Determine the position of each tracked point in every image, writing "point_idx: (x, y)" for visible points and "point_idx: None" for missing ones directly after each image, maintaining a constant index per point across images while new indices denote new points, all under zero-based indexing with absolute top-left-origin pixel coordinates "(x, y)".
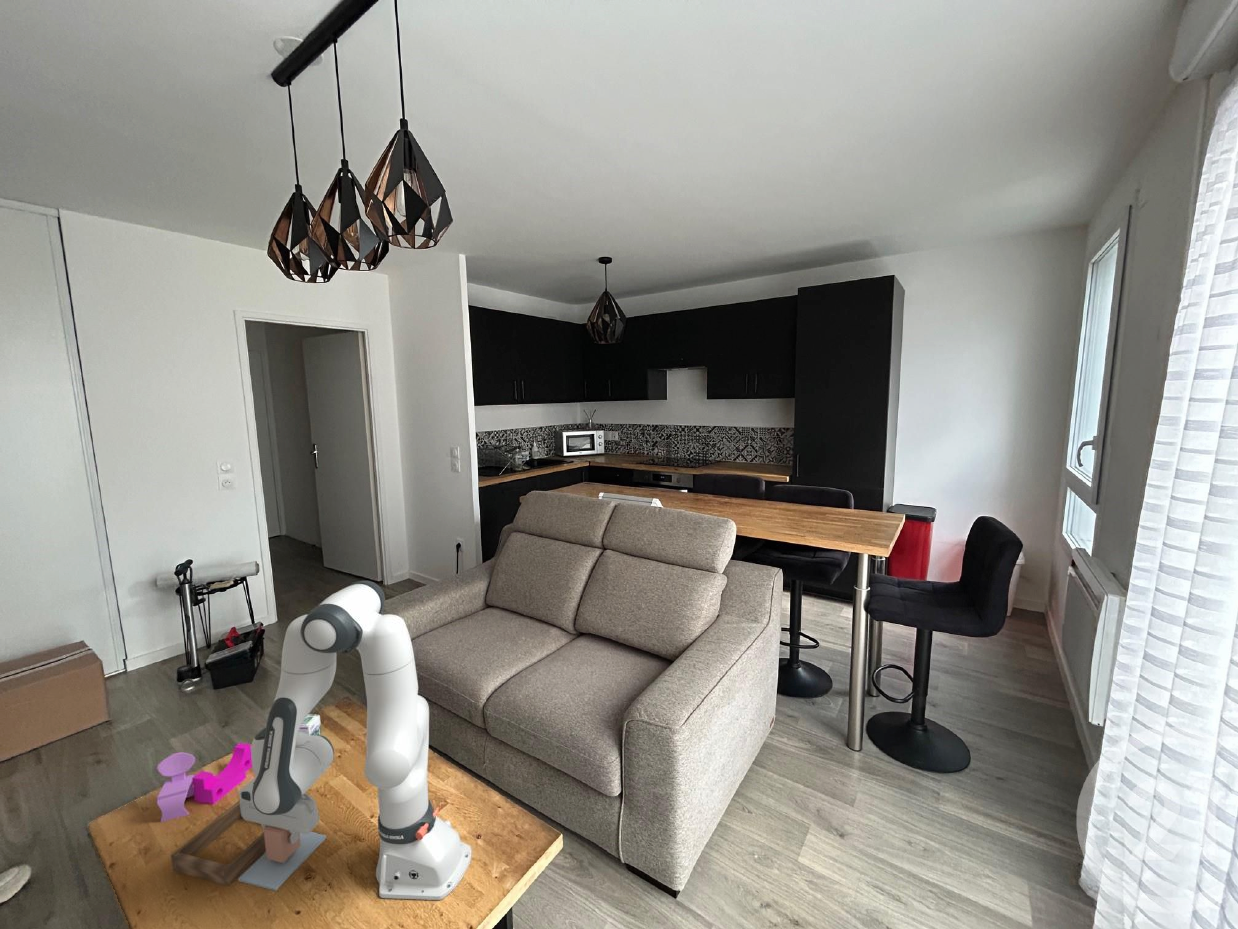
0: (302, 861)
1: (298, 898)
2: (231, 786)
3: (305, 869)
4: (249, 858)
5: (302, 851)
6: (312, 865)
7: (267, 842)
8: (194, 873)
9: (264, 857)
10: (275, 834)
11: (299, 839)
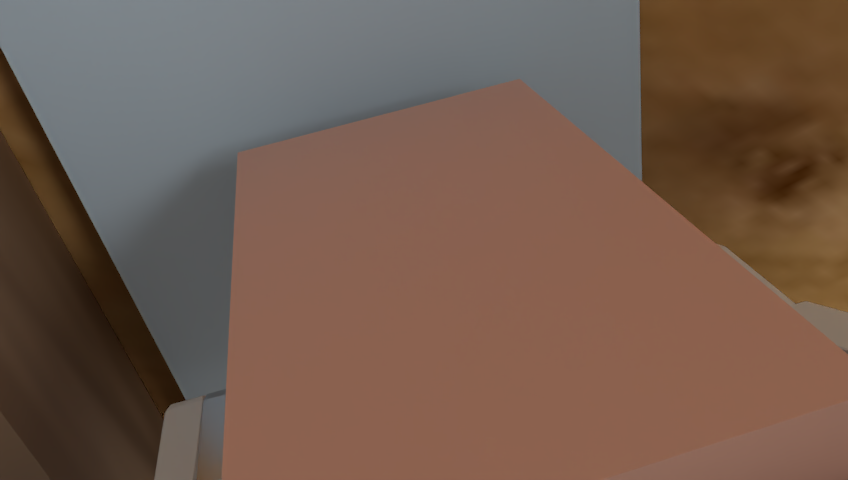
0: (635, 134)
1: (835, 307)
2: None
3: (702, 148)
4: (138, 468)
5: (538, 66)
6: (736, 87)
7: None
8: None
9: (205, 326)
10: None
11: (558, 120)
